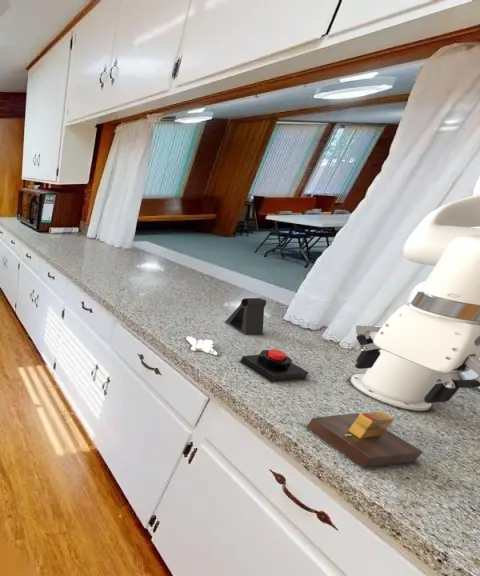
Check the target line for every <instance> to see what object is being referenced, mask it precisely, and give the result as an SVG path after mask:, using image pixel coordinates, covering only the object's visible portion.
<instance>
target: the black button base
mask: <svg viewBox="0 0 480 576" xmlns="http://www.w3.org/2000/svg"><path fill="white" fill-rule="evenodd" d="M269 350H270V349H262V350H261V352H260V353H259V354H251V355H250V354H249V355H242V357H241V359H240V363H241V364H243V365H244V366H246V367H247V368H248V369H250V370H252V371H254V373H257V374H258V375H260V377H263V378H264V379H266V380H267V381H269V382H280V381H281V382H282V381H291V380H304V379H306V378H307V376H308V374H309V371H307V370H305V369H303V368H302V367H300V366H298V365H297V364H295V363H293V360H292V358H291V357H289V356H288V355H287V356H286V358H285V360H284V361H279V360H275V359H273V358H271V357H269V356H268V352H269Z"/></svg>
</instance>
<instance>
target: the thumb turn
mask: <svg viewBox="0 0 480 576" xmlns="http://www.w3.org/2000/svg"><path fill="white" fill-rule="evenodd" d="M359 414H360V415H359V416H358V417H357V419H356V420H355V422H354V423H353V425H352V426H351V427H350V429H349V430H348V431H349V432H351V433H352V434H354V435H356V436H357V437H359V438H368V437H377V436H382V434H383V433H384V432H385V431H386V430H388V428H389V427H390V426H391V424H392V423H393V421H394V420H395V418H394V417H392V416H390V415H389V414H387V413H385V412H383V411H374V412H363V413H359Z"/></svg>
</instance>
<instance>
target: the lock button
mask: <svg viewBox="0 0 480 576" xmlns="http://www.w3.org/2000/svg"><path fill="white" fill-rule="evenodd" d="M268 350H269V352H268V356H269V357H271V358H273V359H275V360H279V361H284V360H285V358H286V356H288V355H287V353H286V352H284V351H282V350H278V349H275V348H270V349H268Z"/></svg>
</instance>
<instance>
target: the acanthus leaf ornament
mask: <svg viewBox="0 0 480 576" xmlns="http://www.w3.org/2000/svg"><path fill="white" fill-rule="evenodd" d="M186 341H188V343H189V344H190V345H191V347H190V350H191V351H194V352H196V351H197V352H198V351H201V352H205V353H207V354H211V355H214V356H218V355H219V353H218V352H217V350H215V349H214V342H213V340H212V339H204V340H203V339H199V340H197V339H196V338H195V337H192V336H186Z"/></svg>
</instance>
